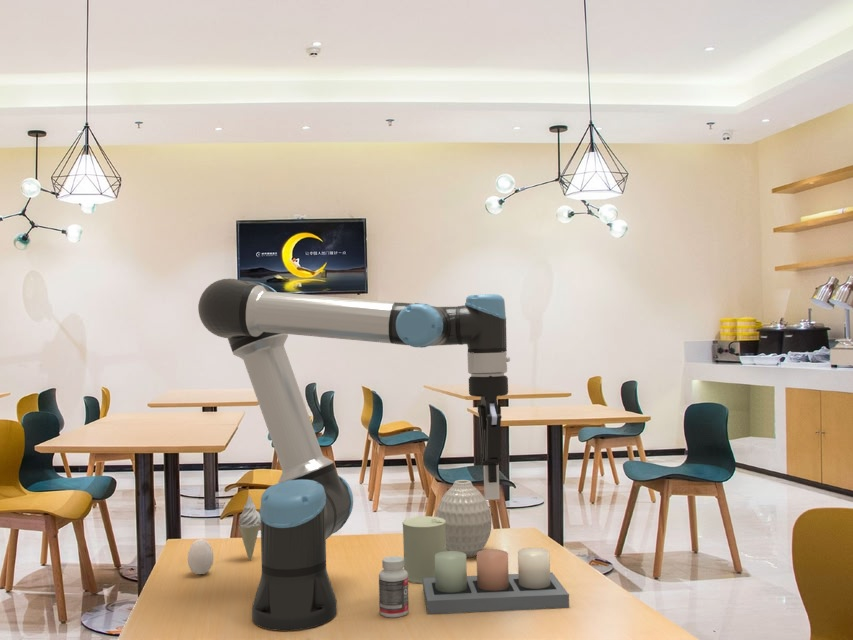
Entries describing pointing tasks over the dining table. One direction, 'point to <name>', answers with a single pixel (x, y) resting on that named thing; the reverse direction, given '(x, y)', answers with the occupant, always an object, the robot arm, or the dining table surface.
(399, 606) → the pill bottle
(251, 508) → the ice cream cone
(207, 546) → the egg
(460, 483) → the vase
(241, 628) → the dining table surface
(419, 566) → the can
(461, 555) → the pale green round piece
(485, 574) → the pink cylinder
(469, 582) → the board
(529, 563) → the cream cylinder
